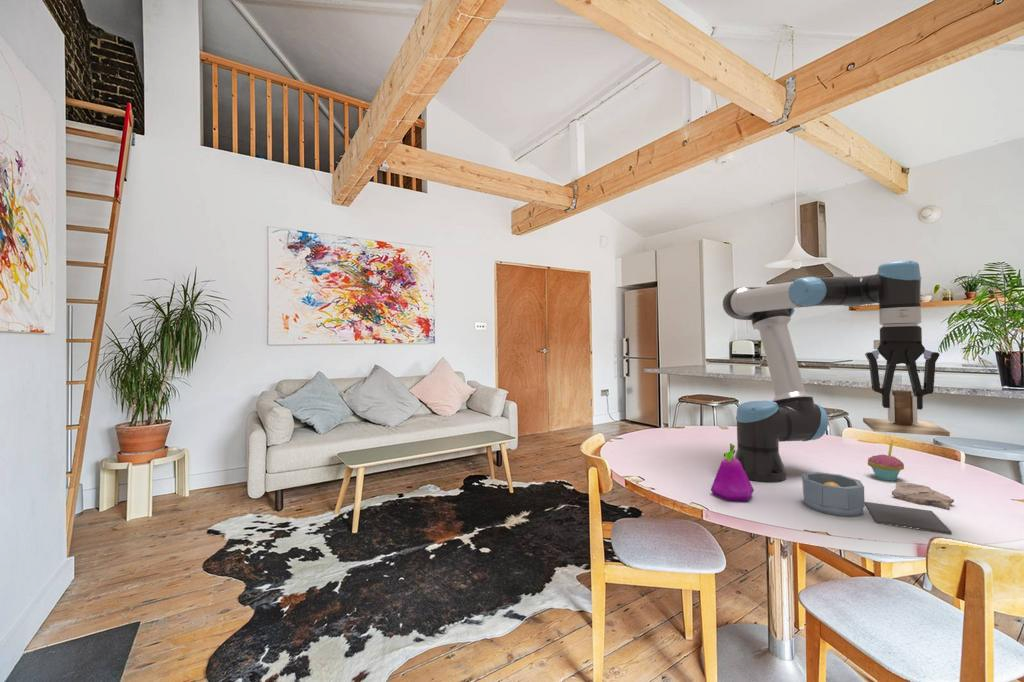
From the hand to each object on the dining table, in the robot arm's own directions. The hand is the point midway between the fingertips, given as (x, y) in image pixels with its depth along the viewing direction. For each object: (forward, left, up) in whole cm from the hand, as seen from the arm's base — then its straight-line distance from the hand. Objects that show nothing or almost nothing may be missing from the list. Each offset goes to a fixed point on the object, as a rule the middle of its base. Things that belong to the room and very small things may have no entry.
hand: (902, 421), depth 103 cm
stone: (+7, +18, -24) cm, 31 cm away
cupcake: (+3, +35, -24) cm, 42 cm away
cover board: (0, 0, -2) cm, 2 cm away
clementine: (-14, +1, -21) cm, 26 cm away
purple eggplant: (-37, -2, -24) cm, 44 cm away
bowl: (-14, +1, -23) cm, 27 cm away
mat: (0, 0, -23) cm, 23 cm away
